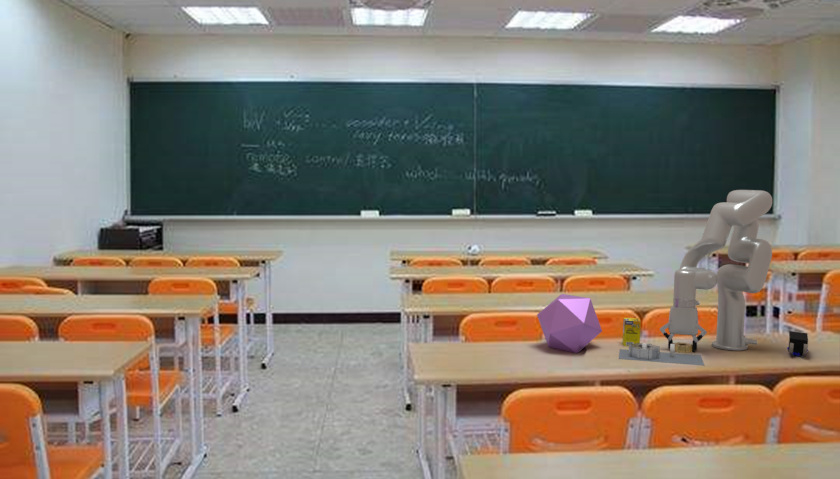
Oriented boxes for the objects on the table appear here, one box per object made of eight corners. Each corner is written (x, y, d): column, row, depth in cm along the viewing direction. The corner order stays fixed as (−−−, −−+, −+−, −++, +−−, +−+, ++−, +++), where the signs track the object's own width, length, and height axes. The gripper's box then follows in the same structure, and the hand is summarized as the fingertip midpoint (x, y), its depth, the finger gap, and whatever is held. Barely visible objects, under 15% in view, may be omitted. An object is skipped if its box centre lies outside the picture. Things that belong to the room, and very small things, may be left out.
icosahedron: (615, 339, 259) (597, 279, 272) (561, 342, 254) (545, 280, 267) (591, 363, 277) (575, 306, 290) (540, 366, 272) (526, 307, 285)
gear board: (700, 358, 259) (701, 342, 259) (704, 369, 245) (705, 352, 245) (619, 352, 267) (620, 337, 267) (618, 362, 253) (619, 346, 252)
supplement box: (640, 350, 271) (641, 321, 270) (623, 349, 272) (624, 320, 271) (638, 346, 277) (639, 318, 276) (622, 345, 278) (623, 317, 277)
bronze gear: (691, 352, 268) (691, 343, 268) (692, 356, 262) (693, 347, 261) (671, 350, 270) (672, 341, 270) (672, 355, 264) (672, 345, 263)
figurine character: (808, 364, 259) (806, 350, 272) (810, 343, 257) (808, 330, 271) (787, 362, 262) (786, 348, 275) (788, 341, 260) (787, 329, 274)
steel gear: (658, 353, 261) (659, 344, 260) (659, 360, 251) (660, 350, 250) (628, 351, 264) (629, 342, 263) (628, 358, 254) (628, 348, 253)
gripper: (708, 303, 265) (706, 351, 267) (658, 300, 270) (656, 347, 272) (710, 306, 258) (708, 355, 260) (659, 303, 263) (657, 352, 265)
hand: (682, 351), depth 266 cm, fingers open, 7 cm apart
